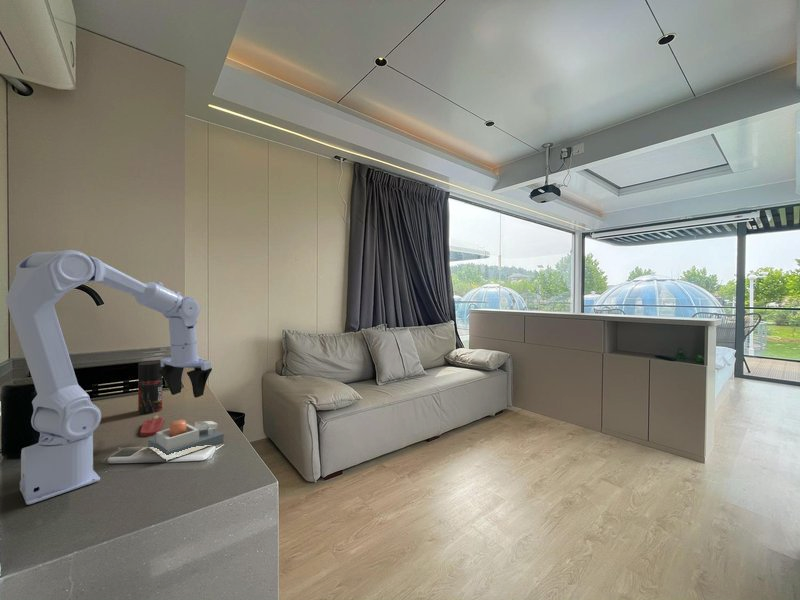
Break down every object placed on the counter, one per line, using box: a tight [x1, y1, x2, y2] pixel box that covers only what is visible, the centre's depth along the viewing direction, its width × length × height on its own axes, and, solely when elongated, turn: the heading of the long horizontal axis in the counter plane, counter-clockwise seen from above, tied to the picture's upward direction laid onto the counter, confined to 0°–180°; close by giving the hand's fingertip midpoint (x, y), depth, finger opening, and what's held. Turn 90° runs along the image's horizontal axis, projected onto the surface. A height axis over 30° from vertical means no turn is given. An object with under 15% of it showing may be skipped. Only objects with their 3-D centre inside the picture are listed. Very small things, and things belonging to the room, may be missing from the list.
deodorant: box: [137, 360, 163, 415], centre depth 102 cm, size 6×6×15 cm
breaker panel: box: [147, 423, 224, 455], centre depth 79 cm, size 12×11×4 cm
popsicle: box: [139, 414, 165, 438], centre depth 90 cm, size 4×2×15 cm
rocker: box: [194, 420, 219, 430], centre depth 82 cm, size 4×4×1 cm
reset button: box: [169, 419, 187, 437], centre depth 76 cm, size 3×3×3 cm
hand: (187, 394), depth 85 cm, fingers open, 7 cm apart
